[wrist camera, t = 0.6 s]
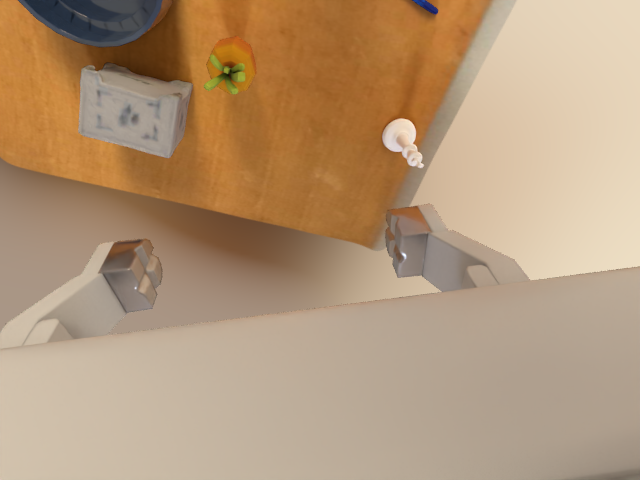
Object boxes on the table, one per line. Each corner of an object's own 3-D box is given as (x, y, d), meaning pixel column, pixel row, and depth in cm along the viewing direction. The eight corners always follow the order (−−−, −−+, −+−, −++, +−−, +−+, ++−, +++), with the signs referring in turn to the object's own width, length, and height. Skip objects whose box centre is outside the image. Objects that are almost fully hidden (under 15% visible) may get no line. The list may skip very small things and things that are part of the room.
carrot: (216, 64, 46) (198, 105, 35) (218, 19, 43) (199, 48, 32) (256, 72, 47) (251, 114, 36) (260, 29, 45) (257, 59, 33)
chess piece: (400, 155, 57) (420, 189, 49) (375, 140, 55) (392, 172, 47) (422, 129, 55) (446, 159, 47) (396, 112, 53) (418, 141, 45)
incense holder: (195, 74, 47) (179, 101, 39) (185, 134, 52) (170, 169, 43) (110, 45, 44) (74, 68, 36) (107, 112, 49) (75, 145, 41)
